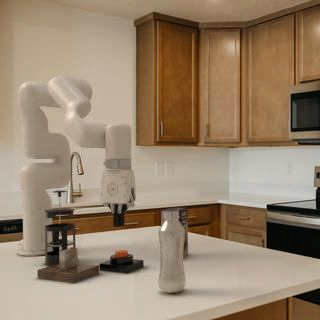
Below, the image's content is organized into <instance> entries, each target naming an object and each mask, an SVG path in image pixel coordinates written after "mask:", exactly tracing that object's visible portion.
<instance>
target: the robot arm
mask: <svg viewBox="0 0 320 320" xmlns="http://www.w3.org/2000/svg"><path fill="white" fill-rule="evenodd" d="M92 98H93V87H92V86H91V84H90V82H89V81H87V80H85V79H84V78H78V77H73V76H72V77H71V76H65V75H59V76H57V75H56V76H54V77H52V78H51V79H50V80H49V81H48V82H47V81H39V80H29V81H24V82H23V83H21V85H20V86H19V88H18V90H17V94H16V103H17V107H18V111H19V114H20V120H21V138H22V140H21V141H22V152H23V154H24V156H25V157H26V158H28V159H32V160H51V162H30V163H26V164H25V165H23V166H22V167H21V168H20V170H19V171H18V181H19V185H20V189H21V198H22V232H23V233H22V239H21V240H20V241H17V243H16V245H17V246H19V247H21V248H20V249H19V250H18V255H20V256H24V257H33V256H36V257H37V256H45V226H46V225H50V224H53V218H46V212H45V210H49V209H53V201H52V198H51V196H50V194H49V193H48V192H47V191H46V190H56V189H63V188H66V187H67V186H68V185H69V184H70V182H71V178H72V177H71V176H72V168H71V167H72V166H71V147H70V142H69V140H68V138H67V137H66V136H65V135H64V134H63V133H59V132H50V131H49V120H48V117H47V116H46V114H45V112H44V111H43V109H42V108H41V107H45V108H57V109H61V110H62V111H63V112H64V118H63V124H64V130H65V132H66V134H67V135H68V137H69V138H70V139H71V140H72V142H74V143H75V144H76V145H77V146H78V147H80V148H82V149H83V148H84V149H105V151H104V152H105V153H104V154H105V157H104V158H105V159H104V161H103V162H102V163H103V166H105V169H102V174H101V179H100V190H99V200H100V202H102V205H103V206H104V207H107V208H108V209H109V210H110V212H111V214H112V226H113V228H121V227H124V226H125V221H126V220H125V219H126V216H125V213H127V212H128V211H127V210H129V209H130V208H134V207H135V206H136V204H135V201H136V199H137V189H136V187H137V186H136V178H135V173H134V170H133V169H132V168H133V167H132V126H131V125H130V124H127V123H97V122H96V123H95V122H86V121H85V120H84V119H85V118H86V117H87V116H88V115H89V114H90V112H91V110H92V103H91V100H92ZM48 242H52V232H48V231H47V243H48ZM50 251H52V247H48V246H47V252H50Z"/></svg>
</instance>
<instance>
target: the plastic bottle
mask: <svg viewBox="0 0 320 320" xmlns="http://www.w3.org/2000/svg"><path fill="white" fill-rule="evenodd" d="M179 218H180V216H179V211H178V210H167V211H164V219H165V221H164V223H163V224H162V226H161V225H160V227H159V230H158V233H157V234H158V241H159V248H160V250H159V251H160V266H159V274H158V280H157V283H158V288H159V290H160V291H161V292H162V293H166V294H167V293H169V294H171V293H179V292H182V291H183V290H184V288H185V287H186V273H185V267H184V266H185V265H184V258H183V247H184V240H185V229H184V227H183V226H182V224H181V223H180V222H179V220H178V219H179Z"/></svg>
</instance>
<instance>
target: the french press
mask: <svg viewBox="0 0 320 320" xmlns="http://www.w3.org/2000/svg"><path fill="white" fill-rule="evenodd" d="M53 193H54V194H55V193H56V194H57V198H58V207H55V208H52V209H49V210H45V212H46V218H52V219H54V218H55V217H57V216H59V217H58V218H59V220H58V221H59V223H52V224H50V225H46V226H45V255H44V257H45V259H44V260H45V262H44V265H45V267H49V266H52V265H56V264H59V263H60V261H59V251H62V250H66V249H69V248H68V247H70V246H72V247H75V248H76V224H75V223H72V222H64V223H63V222H61V221H62V219H61V217H62V216H70V217H74V211H76V209H75V208H69V207H61V197H62V193H67V191H66V190H63V189H62V190H53V191H52V194H53ZM47 231H48V232H52V242H48V243H47ZM69 231H72V240H70V239H69V240H68V232H69ZM47 246H48V247H52V251H50V252H47Z"/></svg>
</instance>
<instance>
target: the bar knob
mask: <svg viewBox="0 0 320 320" xmlns="http://www.w3.org/2000/svg"><path fill="white" fill-rule="evenodd" d="M61 250H62V249H61ZM78 259H79V257H78V248H77V247H76V246H75V247H73V246H71V247H69V248H68V249H66V250H62V251H59V261H60V269H63V270H66V269H69V268H72V267H75V266H78V263H79V262H78Z"/></svg>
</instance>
